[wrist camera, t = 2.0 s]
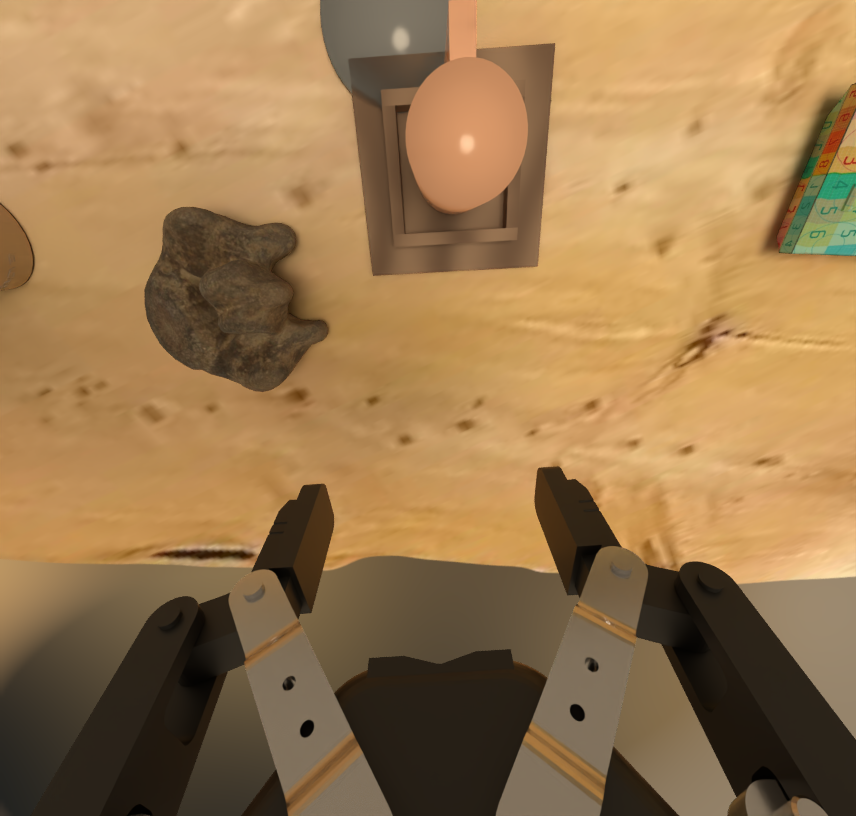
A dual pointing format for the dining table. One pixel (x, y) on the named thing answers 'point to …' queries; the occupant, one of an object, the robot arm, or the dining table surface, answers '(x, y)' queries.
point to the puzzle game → (826, 190)
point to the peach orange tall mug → (465, 123)
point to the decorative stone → (227, 299)
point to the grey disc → (383, 39)
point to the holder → (400, 196)
